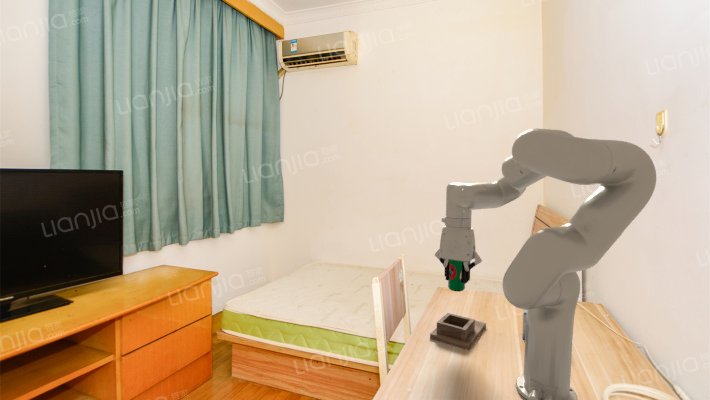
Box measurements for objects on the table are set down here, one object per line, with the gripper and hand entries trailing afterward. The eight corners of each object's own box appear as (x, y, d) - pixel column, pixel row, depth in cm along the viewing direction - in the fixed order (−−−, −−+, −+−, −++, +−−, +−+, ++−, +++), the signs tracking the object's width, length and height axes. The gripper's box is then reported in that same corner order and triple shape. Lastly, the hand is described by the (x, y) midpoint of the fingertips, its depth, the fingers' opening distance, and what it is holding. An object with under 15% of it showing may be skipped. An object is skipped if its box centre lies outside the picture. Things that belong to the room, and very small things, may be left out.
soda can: (463, 293, 104) (464, 254, 103) (446, 290, 106) (447, 252, 105) (466, 288, 109) (467, 250, 108) (449, 285, 111) (450, 249, 110)
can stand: (468, 349, 100) (468, 333, 100) (430, 338, 107) (430, 322, 107) (485, 327, 115) (486, 312, 114) (451, 318, 122) (451, 304, 121)
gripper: (427, 222, 108) (426, 278, 109) (483, 227, 98) (481, 289, 99) (437, 219, 114) (436, 273, 115) (490, 224, 104) (488, 282, 105)
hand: (456, 280), depth 107 cm, fingers closed on soda can, 4 cm apart
